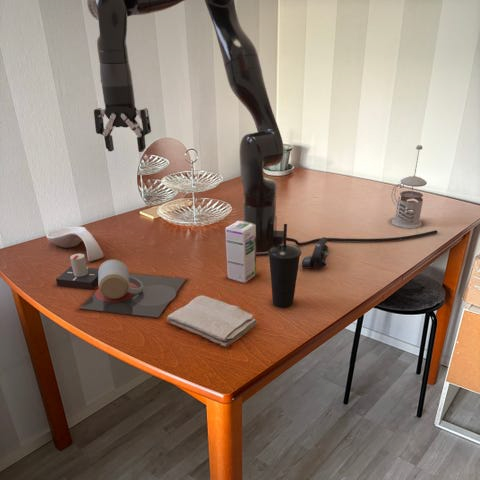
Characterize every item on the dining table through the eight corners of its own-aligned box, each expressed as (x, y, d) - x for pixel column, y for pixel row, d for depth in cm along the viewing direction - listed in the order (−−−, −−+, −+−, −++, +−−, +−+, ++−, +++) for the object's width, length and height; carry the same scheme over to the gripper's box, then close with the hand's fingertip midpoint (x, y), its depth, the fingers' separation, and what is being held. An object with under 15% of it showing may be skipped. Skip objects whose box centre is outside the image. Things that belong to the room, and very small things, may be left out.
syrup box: (245, 283, 128) (245, 230, 121) (226, 278, 131) (225, 226, 123) (256, 275, 132) (256, 223, 125) (238, 270, 135) (237, 219, 127)
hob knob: (77, 270, 132) (73, 252, 129) (90, 271, 131) (86, 252, 128) (71, 276, 128) (67, 257, 126) (84, 277, 128) (80, 258, 125)
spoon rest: (42, 243, 153) (36, 221, 149) (76, 233, 160) (72, 212, 156) (79, 266, 138) (74, 242, 134) (115, 254, 145) (112, 231, 141)
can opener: (324, 274, 132) (325, 255, 129) (298, 270, 134) (299, 251, 131) (336, 249, 146) (338, 231, 143) (313, 246, 148) (315, 228, 145)
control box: (106, 275, 133) (105, 268, 132) (92, 289, 126) (90, 281, 125) (73, 272, 135) (71, 265, 134) (57, 285, 128) (55, 278, 127)
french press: (411, 230, 158) (425, 150, 145) (380, 221, 166) (391, 144, 153) (427, 223, 164) (442, 145, 151) (397, 214, 171) (409, 139, 158)
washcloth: (228, 350, 102) (227, 337, 101) (164, 324, 111) (163, 312, 110) (259, 325, 111) (260, 313, 109) (198, 303, 120) (197, 291, 118)
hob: (187, 280, 130) (187, 279, 130) (160, 318, 114) (160, 317, 113) (114, 273, 134) (114, 272, 134) (77, 309, 118) (77, 308, 118)
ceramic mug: (100, 302, 120) (95, 274, 116) (100, 287, 126) (96, 260, 122) (144, 298, 122) (141, 270, 118) (142, 283, 128) (139, 256, 124)
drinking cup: (265, 296, 122) (266, 219, 111) (295, 294, 122) (299, 217, 112) (269, 312, 115) (270, 231, 105) (301, 310, 116) (306, 229, 105)
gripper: (149, 81, 124) (156, 148, 132) (97, 81, 126) (106, 147, 134) (138, 85, 117) (146, 155, 126) (83, 85, 120) (94, 153, 128)
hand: (126, 151), depth 130 cm, fingers open, 8 cm apart
